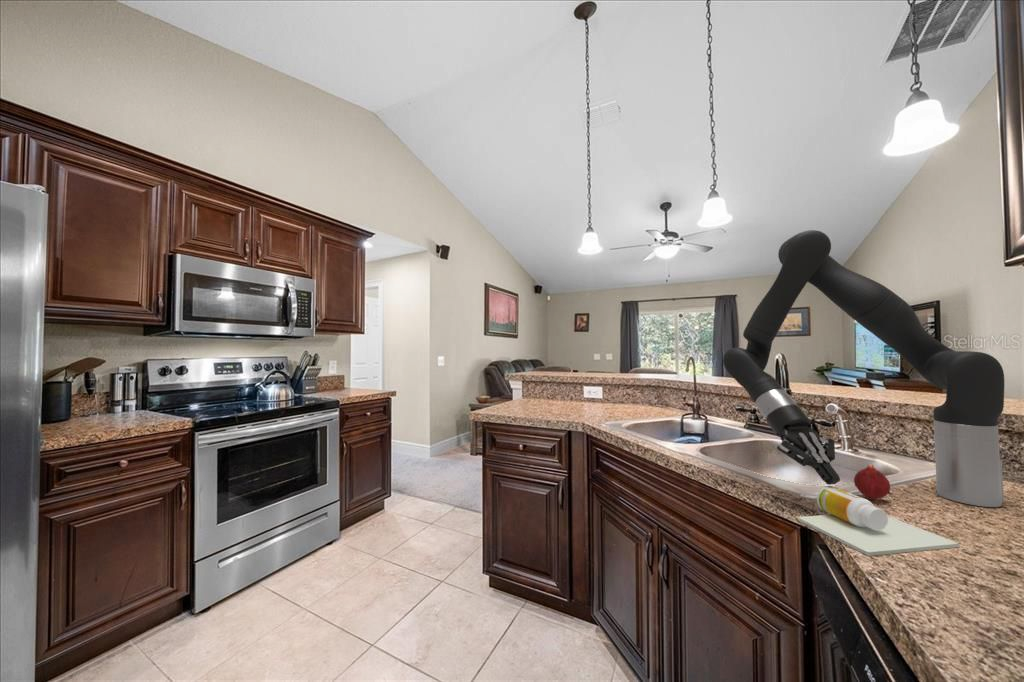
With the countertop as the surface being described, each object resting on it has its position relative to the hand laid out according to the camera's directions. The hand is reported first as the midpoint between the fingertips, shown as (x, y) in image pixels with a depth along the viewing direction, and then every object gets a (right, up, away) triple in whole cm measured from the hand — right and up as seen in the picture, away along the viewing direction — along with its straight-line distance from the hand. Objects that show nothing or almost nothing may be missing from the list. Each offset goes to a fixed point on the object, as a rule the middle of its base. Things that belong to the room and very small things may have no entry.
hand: (834, 482), depth 75 cm
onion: (+15, -7, +7) cm, 18 cm away
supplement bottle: (-1, -4, +1) cm, 4 cm away
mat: (+1, -7, -7) cm, 10 cm away
